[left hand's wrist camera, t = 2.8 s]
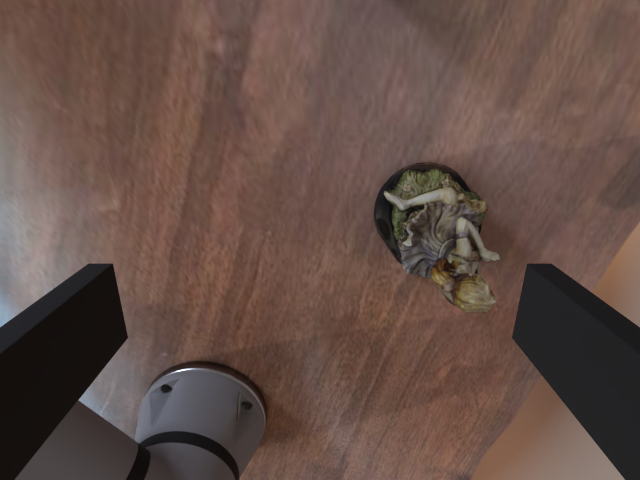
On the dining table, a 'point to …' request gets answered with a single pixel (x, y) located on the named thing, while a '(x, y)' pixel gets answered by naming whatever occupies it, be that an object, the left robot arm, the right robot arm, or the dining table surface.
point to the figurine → (437, 231)
